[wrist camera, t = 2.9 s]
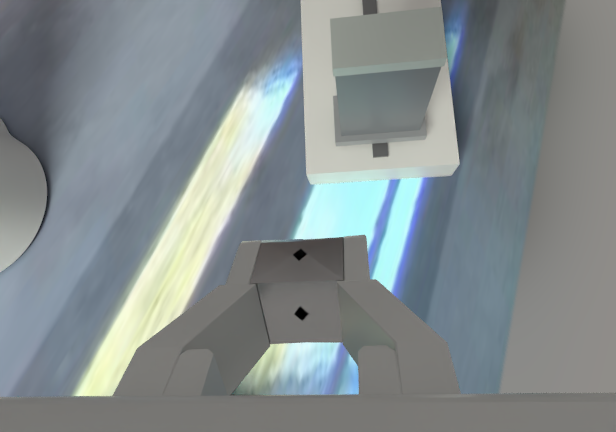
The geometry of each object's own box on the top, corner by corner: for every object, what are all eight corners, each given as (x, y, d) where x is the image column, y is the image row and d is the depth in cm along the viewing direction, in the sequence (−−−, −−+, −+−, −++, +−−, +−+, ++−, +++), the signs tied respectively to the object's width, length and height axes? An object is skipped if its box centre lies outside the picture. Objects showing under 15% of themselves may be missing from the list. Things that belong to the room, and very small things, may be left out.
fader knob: (425, 139, 33) (455, 63, 22) (335, 146, 33) (325, 76, 23) (420, 93, 33) (447, -1, 23) (333, 100, 34) (322, 13, 24)
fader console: (451, 175, 35) (460, 163, 32) (310, 184, 37) (306, 173, 33) (423, -78, 41) (428, -110, 38) (302, -62, 42) (297, -91, 39)
